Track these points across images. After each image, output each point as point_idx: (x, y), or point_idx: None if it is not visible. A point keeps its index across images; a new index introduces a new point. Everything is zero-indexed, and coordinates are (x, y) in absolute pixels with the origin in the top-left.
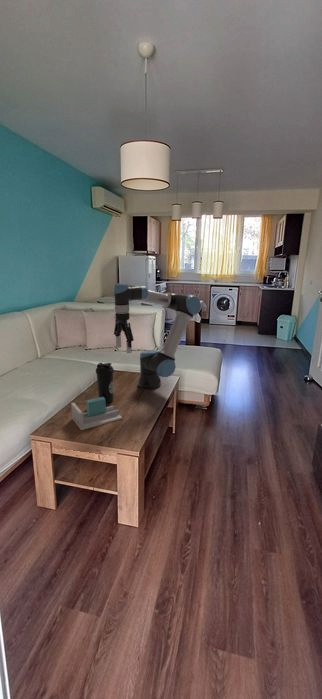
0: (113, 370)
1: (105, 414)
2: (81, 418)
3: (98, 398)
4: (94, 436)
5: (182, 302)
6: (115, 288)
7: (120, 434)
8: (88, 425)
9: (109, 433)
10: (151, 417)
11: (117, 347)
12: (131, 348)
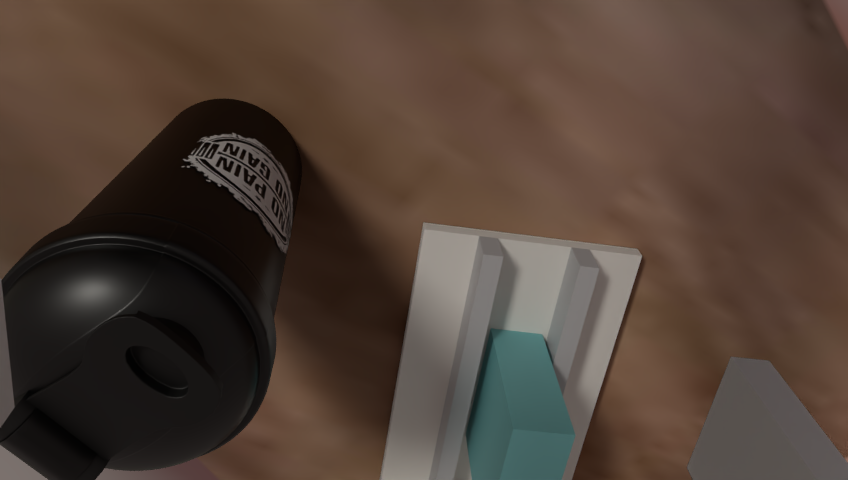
0: (215, 253)
1: (568, 368)
2: None
3: (518, 469)
4: (683, 476)
5: None
6: None
7: (797, 362)
8: None
9: None
10: (817, 47)
11: (10, 399)
12: (834, 456)
